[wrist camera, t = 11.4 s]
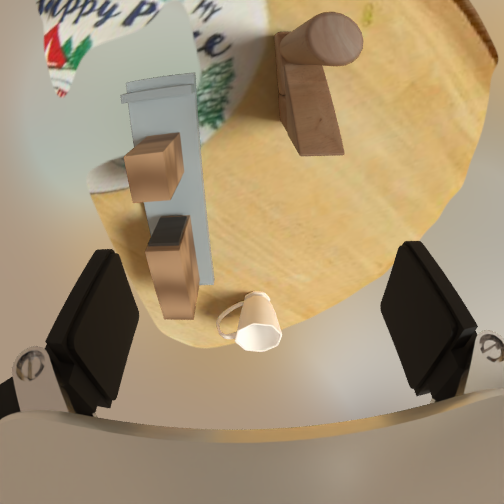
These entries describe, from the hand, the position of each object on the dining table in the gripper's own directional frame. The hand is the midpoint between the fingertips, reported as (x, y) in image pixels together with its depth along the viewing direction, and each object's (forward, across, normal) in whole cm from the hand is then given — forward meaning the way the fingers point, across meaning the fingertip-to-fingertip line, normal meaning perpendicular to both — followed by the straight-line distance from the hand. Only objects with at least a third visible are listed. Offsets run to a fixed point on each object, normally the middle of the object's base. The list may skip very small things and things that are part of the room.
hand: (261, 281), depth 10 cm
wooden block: (+28, -5, -5) cm, 29 cm away
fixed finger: (+27, +10, +17) cm, 34 cm away
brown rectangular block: (+27, +10, +4) cm, 29 cm away
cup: (+28, +1, +29) cm, 41 cm away
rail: (+28, +10, +9) cm, 31 cm away
